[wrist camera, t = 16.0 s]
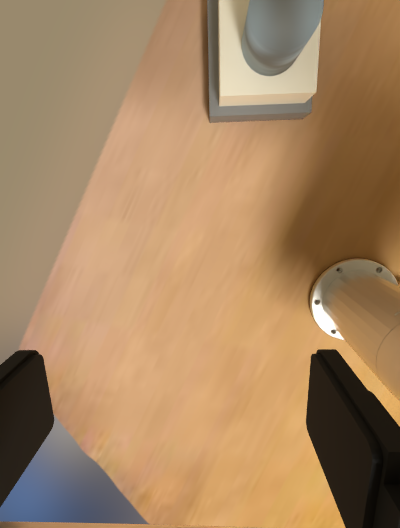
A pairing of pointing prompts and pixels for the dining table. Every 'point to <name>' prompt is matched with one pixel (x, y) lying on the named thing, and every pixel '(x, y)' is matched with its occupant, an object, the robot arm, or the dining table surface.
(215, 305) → the dining table surface
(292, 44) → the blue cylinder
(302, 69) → the tower top
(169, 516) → the dining table surface
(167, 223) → the dining table surface
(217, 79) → the tower bottom
